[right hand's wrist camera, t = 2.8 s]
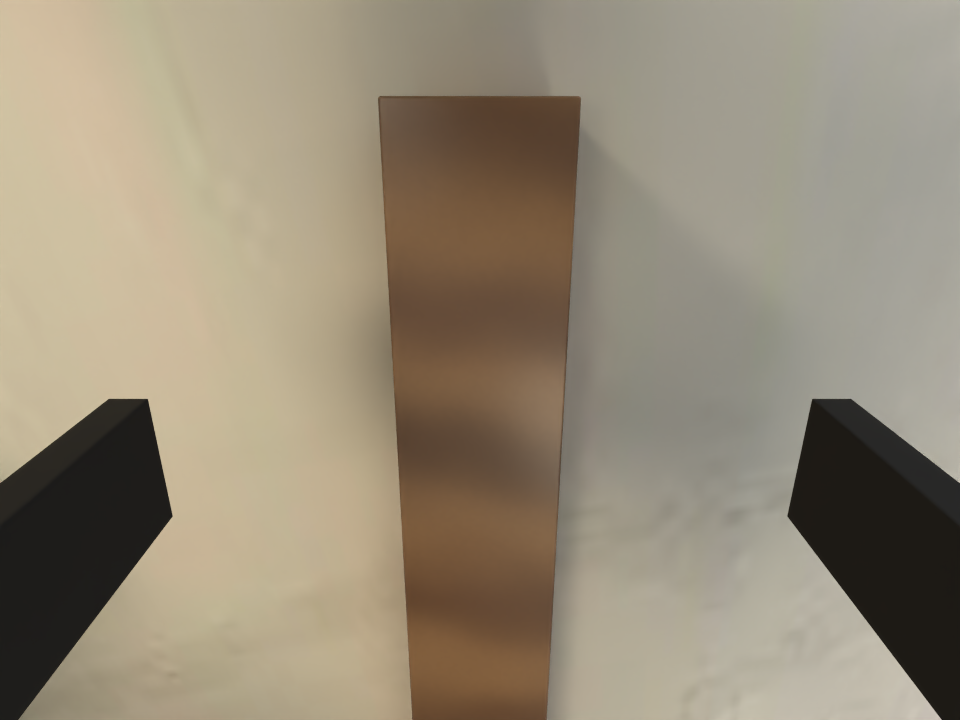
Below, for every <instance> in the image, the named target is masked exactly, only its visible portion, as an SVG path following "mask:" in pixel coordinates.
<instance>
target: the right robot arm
mask: <svg viewBox="0 0 960 720" xmlns="http://www.w3.org/2000/svg"><path fill="white" fill-rule="evenodd" d="M171 518H172V511H171V507H170V502H169V497H168V492H167V488H166V483H165V478H164V473H163V469H162V464H161V459H160V455H159V450H158V445H157V440H156V436H155V431H154V426H153V422H152V417H151V412H150V407H149V403H148V399H108V400H107V401H106V402H104V403H103V404H102V405H101V406H99V407H98V408H97V409H95V410H94V411H93V412H92V413H90V414H89V415H88V416H86V417H85V418H84V419H83V420H81V421H80V422H79V423H77V424H76V425H75V426H74V427H72V428H71V429H70V430H68V431H67V432H66V433H65V434H63V435H62V436H61V437H59V438H58V439H57V440H55V441H54V442H53V443H52V444H50V445H49V446H48V447H46V448H45V449H44V450H43V451H41V452H40V453H39V454H37V455H36V456H35V457H34V458H32V459H31V460H30V461H28V462H27V463H26V464H25V465H23V466H22V467H21V468H19V469H18V470H17V471H16V472H14V473H13V474H12V475H10V476H9V477H8V478H6V479H5V480H4V481H3V482H1V483H0V720H18V719H19V718H20V717H21V715H22V714H23V713H24V711H25V710H26V709H27V707H28V706H29V705H30V703H31V702H32V701H33V700H34V698H35V697H36V696H37V694H38V693H39V692H40V690H41V689H42V688H43V686H44V685H45V684H46V682H47V681H48V680H49V678H50V677H51V676H52V674H53V673H54V672H55V671H56V669H57V668H58V667H59V665H60V664H61V663H62V661H63V660H64V659H65V657H66V656H67V655H68V653H69V652H70V651H71V649H72V648H73V647H74V646H75V644H76V643H77V642H78V640H79V639H80V638H81V636H82V635H83V634H84V632H85V631H86V630H87V628H88V627H89V626H90V624H91V623H92V622H93V620H94V619H95V618H96V617H97V615H98V614H99V613H100V611H101V610H102V609H103V607H104V606H105V605H106V603H107V602H108V601H109V599H110V598H111V597H112V595H113V594H114V593H115V591H116V590H117V589H118V588H119V586H120V585H121V584H122V582H123V581H124V580H125V578H126V577H127V576H128V574H129V573H130V572H131V570H132V569H133V568H134V566H135V565H136V564H137V563H138V561H139V560H140V559H141V557H142V556H143V555H144V553H145V552H146V551H147V549H148V548H149V547H150V545H151V544H152V543H153V541H154V540H155V539H156V537H157V536H158V535H159V534H160V532H161V531H162V530H163V528H164V527H165V526H166V524H167V523H168V522H169V520H170V519H171ZM788 518H789V519H790V520H791V522H792V523H793V524H794V526H795V527H796V528H797V530H798V531H799V532H800V534H801V535H802V536H803V537H804V539H805V540H806V541H807V543H808V544H809V545H810V547H811V548H812V549H813V551H814V552H815V553H816V555H817V556H818V557H819V559H820V560H821V561H822V563H823V564H824V565H825V566H826V568H827V569H828V570H829V572H830V573H831V574H832V576H833V577H834V578H835V580H836V581H837V582H838V584H839V585H840V586H841V588H842V589H843V590H844V591H845V593H846V594H847V595H848V597H849V598H850V599H851V601H852V602H853V603H854V605H855V606H856V607H857V609H858V610H859V611H860V613H861V614H862V615H863V617H864V618H865V619H866V620H867V622H868V623H869V624H870V626H871V627H872V628H873V630H874V631H875V632H876V634H877V635H878V636H879V638H880V639H881V640H882V642H883V643H884V644H885V646H886V647H887V648H888V649H889V651H890V652H891V653H892V655H893V656H894V657H895V659H896V660H897V661H898V663H899V664H900V665H901V667H902V668H903V669H904V671H905V672H906V673H907V674H908V676H909V677H910V678H911V680H912V681H913V682H914V684H915V685H916V686H917V688H918V689H919V690H920V692H921V693H922V694H923V696H924V697H925V698H926V700H927V701H928V702H929V703H930V705H931V706H932V707H933V709H934V710H935V711H936V713H937V714H938V715H939V717H940V718H941V719H942V720H960V483H959V482H957V481H956V480H955V479H954V478H952V477H951V476H950V475H948V474H947V473H946V472H944V471H943V470H942V469H941V468H939V467H938V466H937V465H935V464H934V463H933V462H932V461H930V460H929V459H928V458H926V457H925V456H924V455H923V454H921V453H920V452H919V451H917V450H916V449H915V448H914V447H912V446H911V445H910V444H908V443H907V442H906V441H905V440H903V439H902V438H901V437H899V436H898V435H897V434H895V433H894V432H893V431H892V430H890V429H889V428H888V427H886V426H885V425H884V424H883V423H881V422H880V421H879V420H877V419H876V418H875V417H874V416H872V415H871V414H870V413H868V412H867V411H866V410H865V409H863V408H862V407H861V406H859V405H858V404H857V403H856V402H854V401H853V400H852V399H812V403H811V407H810V412H809V417H808V422H807V426H806V431H805V436H804V440H803V445H802V450H801V455H800V459H799V464H798V469H797V473H796V478H795V483H794V488H793V492H792V497H791V502H790V507H789V511H788Z"/></svg>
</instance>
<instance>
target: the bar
mask: <svg viewBox="0 0 960 720" xmlns="http://www.w3.org/2000/svg"><path fill="white" fill-rule="evenodd" d="M378 106H379V124H380V142H381V160H382V178H383V196H384V214H385V233H386V251H387V269H388V287H389V305H390V323H391V341H392V359H393V377H394V395H395V413H396V431H397V449H398V467H399V485H400V503H401V521H402V539H403V557H404V575H405V593H406V611H407V629H408V647H409V665H410V683H411V701H412V719H413V720H547V702H548V684H549V666H550V648H551V630H552V612H553V594H554V576H555V558H556V540H557V522H558V503H559V485H560V467H561V449H562V431H563V413H564V395H565V377H566V359H567V341H568V323H569V305H570V287H571V269H572V251H573V233H574V215H575V197H576V179H577V161H578V143H579V125H580V107H581V97H579V96H380V97H378Z"/></svg>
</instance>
